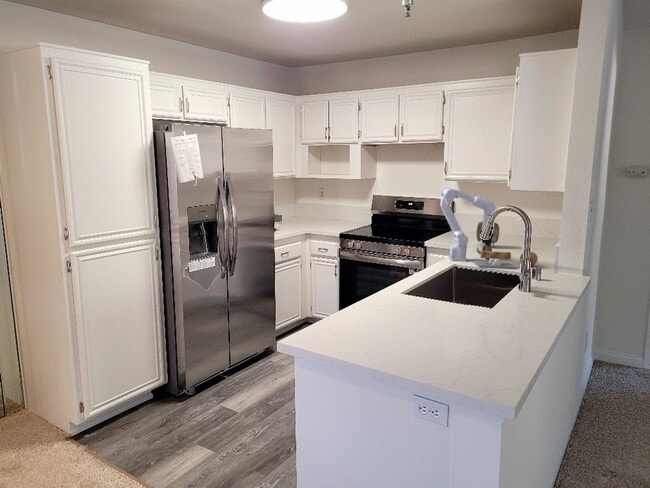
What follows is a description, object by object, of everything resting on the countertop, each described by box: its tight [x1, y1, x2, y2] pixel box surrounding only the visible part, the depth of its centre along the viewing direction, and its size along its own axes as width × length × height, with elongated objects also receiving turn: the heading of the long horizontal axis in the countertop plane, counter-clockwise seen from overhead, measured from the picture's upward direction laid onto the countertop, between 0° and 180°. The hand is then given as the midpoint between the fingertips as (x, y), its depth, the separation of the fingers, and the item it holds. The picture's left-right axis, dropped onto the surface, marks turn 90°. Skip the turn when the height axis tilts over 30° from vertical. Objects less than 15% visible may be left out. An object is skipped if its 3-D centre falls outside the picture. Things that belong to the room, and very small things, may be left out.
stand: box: [473, 258, 517, 270], centre depth 270 cm, size 20×12×5 cm, turn 85°
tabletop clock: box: [475, 221, 500, 249], centre depth 330 cm, size 14×9×25 cm, turn 76°
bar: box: [480, 250, 512, 260], centre depth 270 cm, size 16×3×4 cm, turn 85°
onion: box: [519, 251, 539, 267], centre depth 272 cm, size 10×9×10 cm
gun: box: [476, 239, 493, 260], centre depth 300 cm, size 5×27×15 cm, turn 174°
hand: (485, 244), depth 284 cm, fingers open, 7 cm apart
